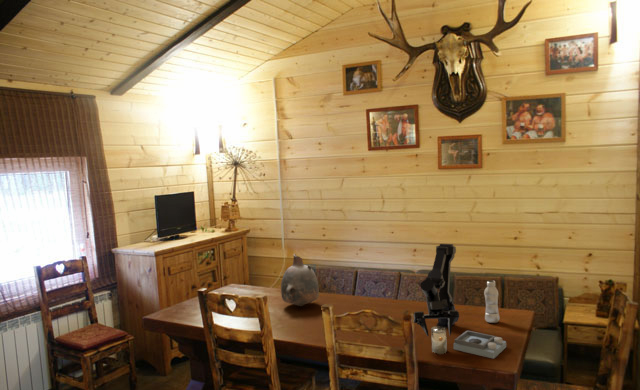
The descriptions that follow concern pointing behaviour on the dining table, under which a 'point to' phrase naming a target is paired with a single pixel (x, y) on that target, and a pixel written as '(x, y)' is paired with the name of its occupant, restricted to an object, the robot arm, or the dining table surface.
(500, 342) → the square tray with knobs
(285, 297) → the jug
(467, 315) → the dining table surface
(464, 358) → the dining table surface
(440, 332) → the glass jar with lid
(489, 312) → the plastic bottle
